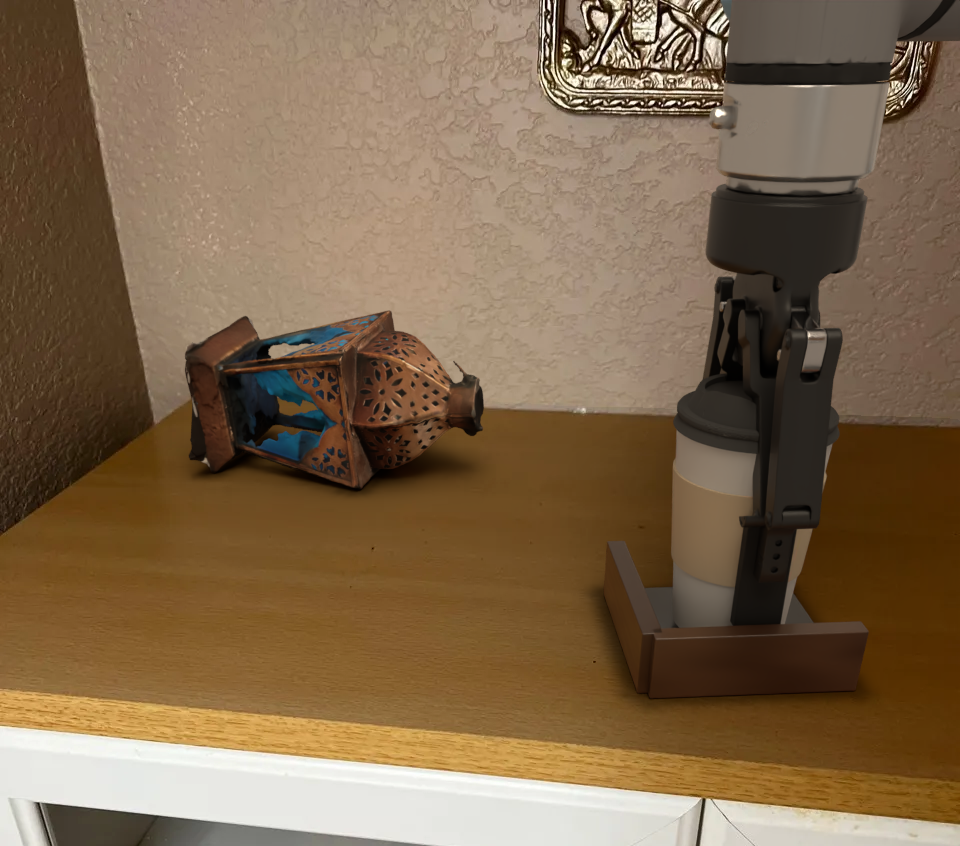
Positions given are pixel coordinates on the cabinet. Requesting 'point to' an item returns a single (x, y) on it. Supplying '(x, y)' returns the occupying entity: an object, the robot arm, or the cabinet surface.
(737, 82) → the robot arm
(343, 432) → the lantern
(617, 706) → the cabinet surface
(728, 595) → the coffee cup
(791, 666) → the corner guide
